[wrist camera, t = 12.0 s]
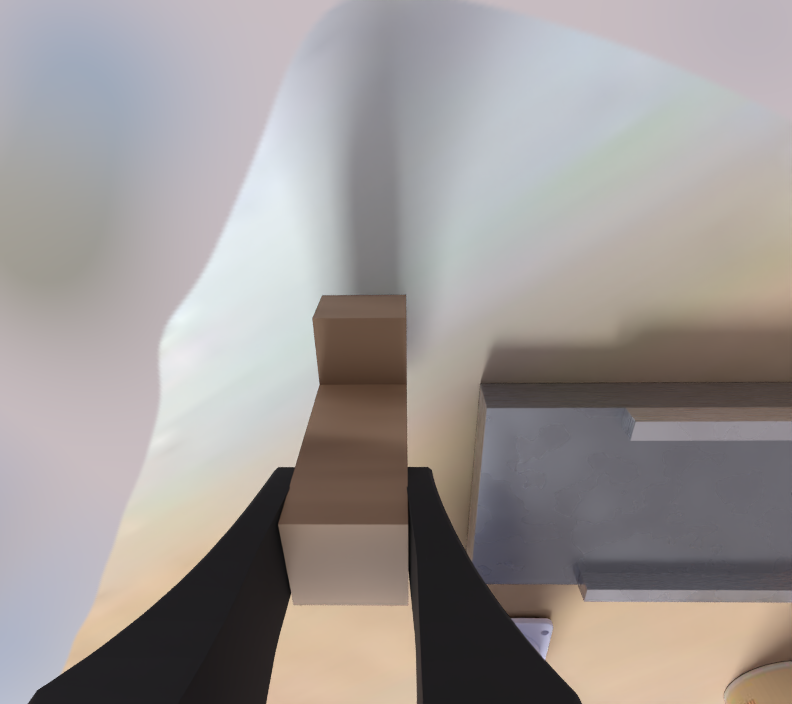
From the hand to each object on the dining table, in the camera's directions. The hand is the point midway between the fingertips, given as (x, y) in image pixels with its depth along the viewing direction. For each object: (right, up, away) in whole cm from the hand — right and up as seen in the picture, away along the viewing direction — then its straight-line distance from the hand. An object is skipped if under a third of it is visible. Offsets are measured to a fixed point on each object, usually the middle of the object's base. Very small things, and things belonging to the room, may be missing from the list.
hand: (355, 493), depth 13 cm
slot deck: (+15, -3, +11) cm, 19 cm away
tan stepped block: (0, +3, +5) cm, 6 cm away
